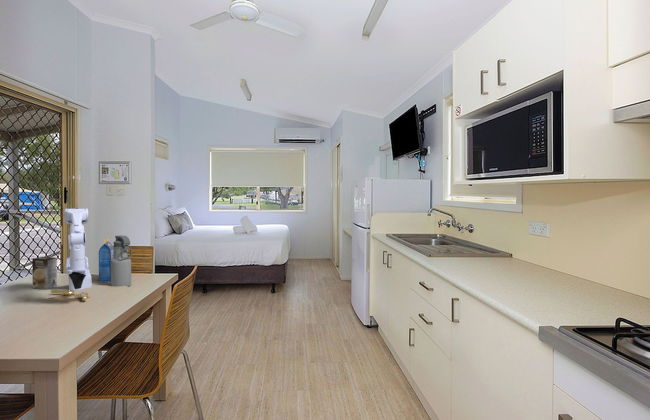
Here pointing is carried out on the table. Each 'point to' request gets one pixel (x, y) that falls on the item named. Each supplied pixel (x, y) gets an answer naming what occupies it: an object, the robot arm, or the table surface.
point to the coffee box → (44, 272)
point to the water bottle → (121, 262)
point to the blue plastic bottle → (105, 261)
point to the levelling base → (66, 298)
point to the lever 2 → (83, 296)
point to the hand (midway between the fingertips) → (77, 288)
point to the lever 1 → (62, 292)
